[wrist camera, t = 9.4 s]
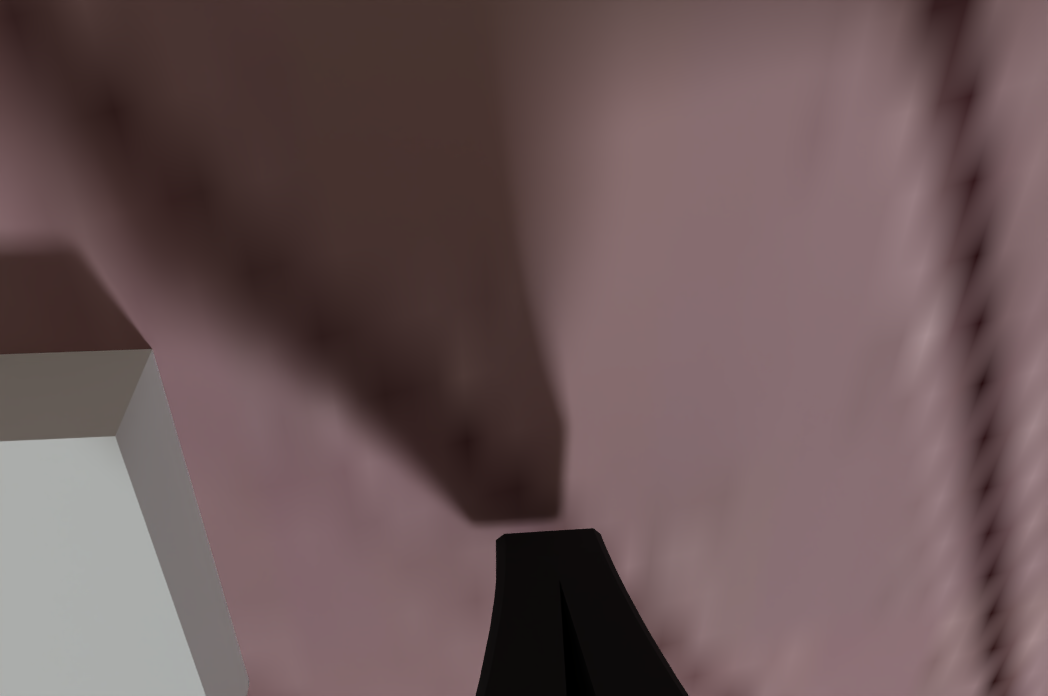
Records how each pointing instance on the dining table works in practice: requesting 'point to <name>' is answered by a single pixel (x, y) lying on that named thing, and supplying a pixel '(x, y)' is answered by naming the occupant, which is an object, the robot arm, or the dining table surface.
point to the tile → (103, 537)
